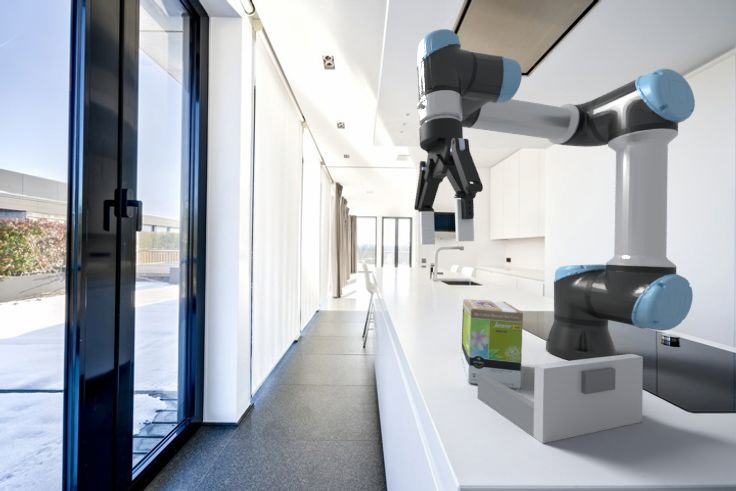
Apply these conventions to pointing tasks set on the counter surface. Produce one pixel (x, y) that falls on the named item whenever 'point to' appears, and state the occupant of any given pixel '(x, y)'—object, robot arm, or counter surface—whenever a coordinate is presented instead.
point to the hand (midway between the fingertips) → (444, 243)
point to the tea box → (492, 341)
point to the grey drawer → (572, 397)
